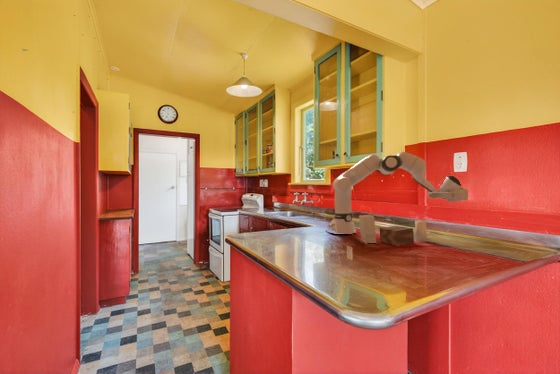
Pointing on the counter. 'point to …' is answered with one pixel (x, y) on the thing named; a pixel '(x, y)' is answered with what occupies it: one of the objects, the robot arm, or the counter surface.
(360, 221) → the skincare box
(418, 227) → the cream canister
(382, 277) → the counter surface
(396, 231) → the walnut base
